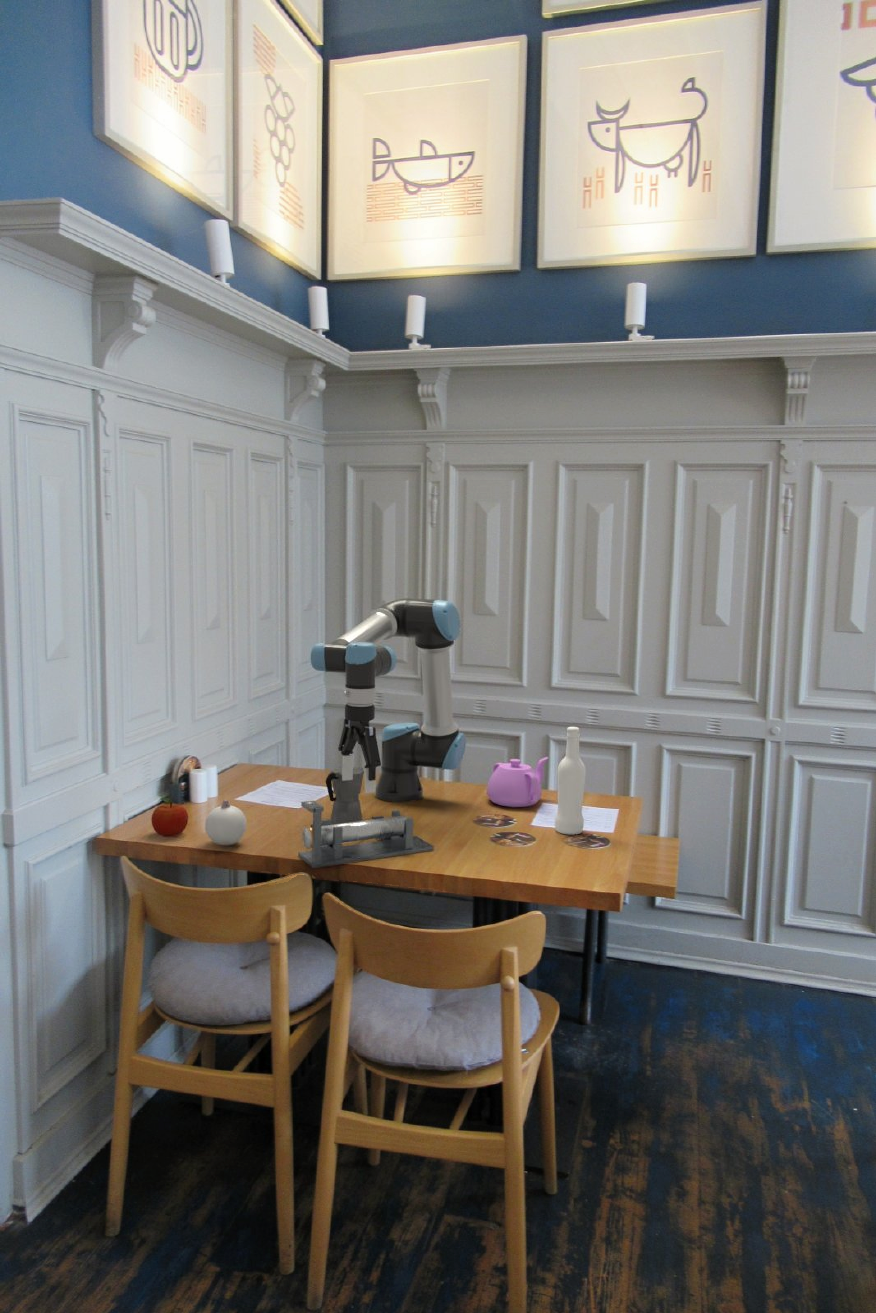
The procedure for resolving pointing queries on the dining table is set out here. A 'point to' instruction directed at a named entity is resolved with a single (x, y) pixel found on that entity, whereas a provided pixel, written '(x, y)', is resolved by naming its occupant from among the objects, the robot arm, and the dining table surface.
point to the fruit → (169, 819)
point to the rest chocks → (372, 819)
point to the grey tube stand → (357, 852)
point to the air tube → (358, 831)
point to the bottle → (570, 787)
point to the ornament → (225, 824)
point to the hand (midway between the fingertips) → (358, 786)
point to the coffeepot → (345, 796)
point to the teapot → (515, 784)
